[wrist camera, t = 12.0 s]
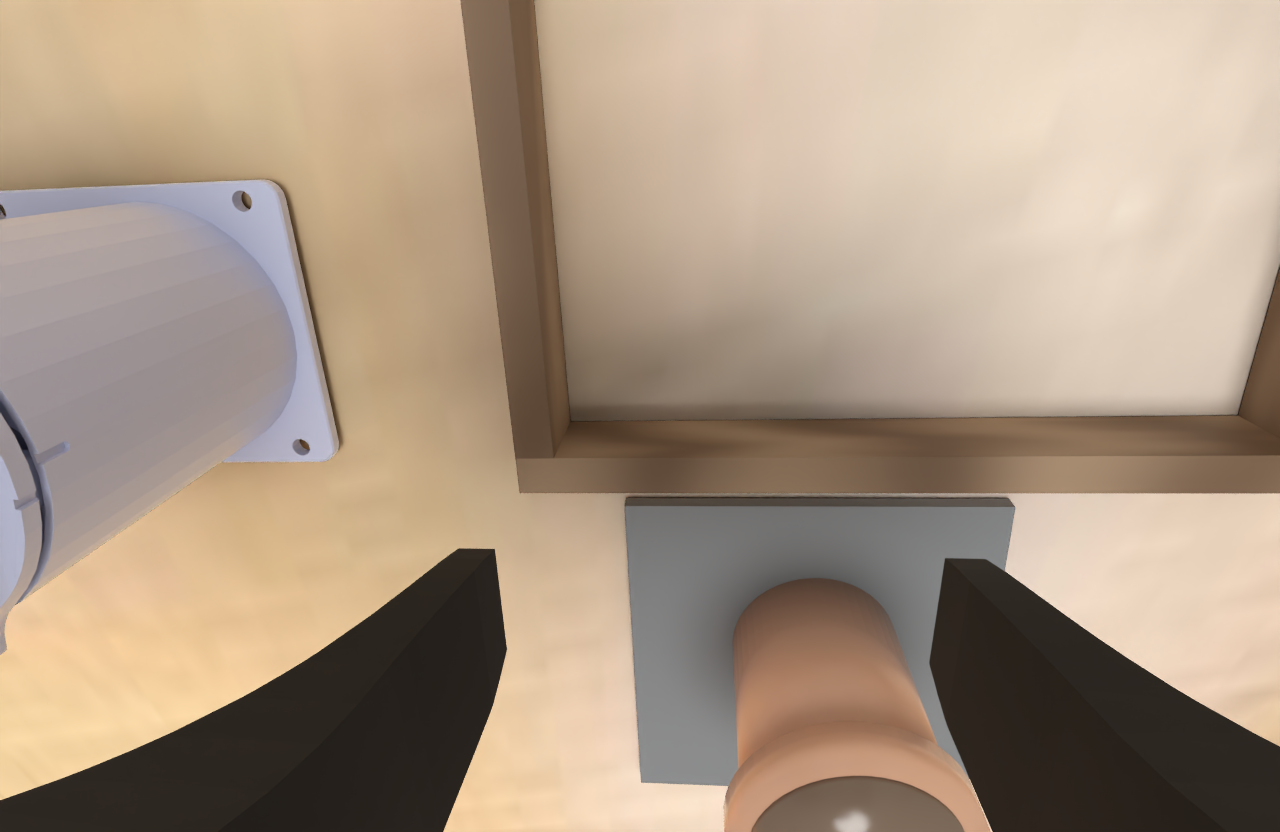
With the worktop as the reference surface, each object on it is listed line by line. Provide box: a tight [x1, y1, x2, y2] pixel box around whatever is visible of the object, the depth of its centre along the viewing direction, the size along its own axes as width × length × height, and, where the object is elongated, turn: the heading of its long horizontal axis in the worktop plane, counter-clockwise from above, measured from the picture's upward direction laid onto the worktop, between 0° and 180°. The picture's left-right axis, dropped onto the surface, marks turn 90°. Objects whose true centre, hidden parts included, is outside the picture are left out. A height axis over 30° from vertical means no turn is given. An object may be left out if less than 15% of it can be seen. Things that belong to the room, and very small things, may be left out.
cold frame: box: [461, 0, 1280, 493], centre depth 16 cm, size 20×16×2 cm
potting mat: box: [625, 498, 1015, 786], centre depth 23 cm, size 11×11×1 cm
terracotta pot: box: [724, 578, 990, 832], centre depth 19 cm, size 6×6×7 cm
